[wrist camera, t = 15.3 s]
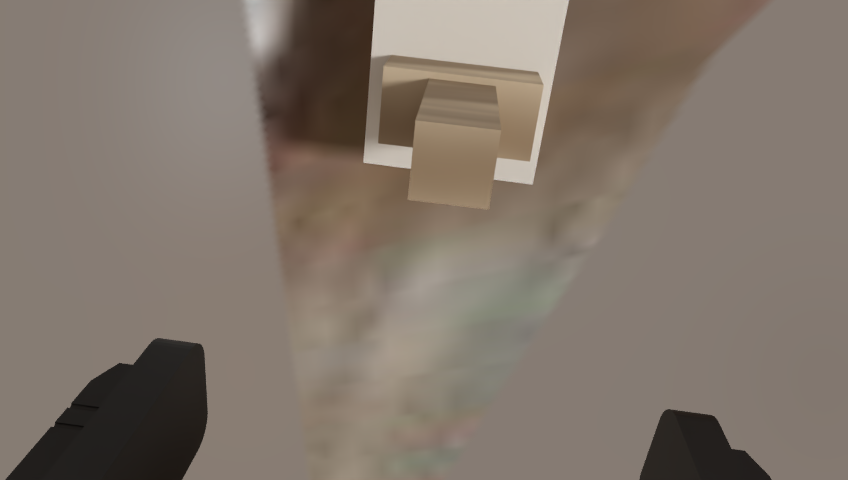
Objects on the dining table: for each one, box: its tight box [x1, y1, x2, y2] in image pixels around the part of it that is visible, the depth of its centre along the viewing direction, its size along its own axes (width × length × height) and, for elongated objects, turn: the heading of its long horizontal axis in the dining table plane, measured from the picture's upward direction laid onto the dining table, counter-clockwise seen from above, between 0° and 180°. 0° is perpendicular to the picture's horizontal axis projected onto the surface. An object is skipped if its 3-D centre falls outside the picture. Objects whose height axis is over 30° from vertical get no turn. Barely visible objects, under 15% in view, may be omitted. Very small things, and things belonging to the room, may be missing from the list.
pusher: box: [378, 55, 544, 210], centre depth 23 cm, size 3×6×8 cm, turn 84°
